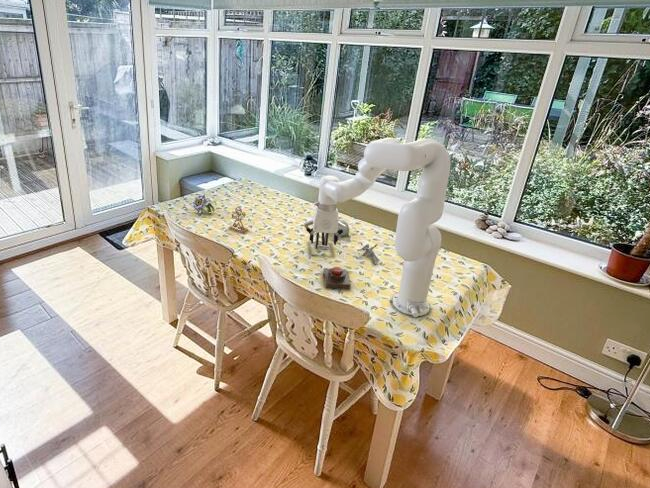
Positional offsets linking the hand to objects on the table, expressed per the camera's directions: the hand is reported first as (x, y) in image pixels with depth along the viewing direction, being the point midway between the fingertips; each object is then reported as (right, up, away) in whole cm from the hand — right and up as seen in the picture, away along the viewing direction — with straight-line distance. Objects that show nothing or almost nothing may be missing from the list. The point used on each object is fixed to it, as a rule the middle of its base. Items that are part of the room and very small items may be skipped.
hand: (323, 242), depth 174 cm
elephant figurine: (+21, -8, +4) cm, 23 cm away
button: (+3, -11, -14) cm, 18 cm away
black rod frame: (+1, -4, +11) cm, 12 cm away
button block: (+3, -14, -12) cm, 19 cm away
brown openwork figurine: (-37, +4, +29) cm, 47 cm away
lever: (+1, +2, +5) cm, 5 cm away
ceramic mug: (+12, 0, +22) cm, 25 cm away
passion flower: (-56, +12, +48) cm, 75 cm away
